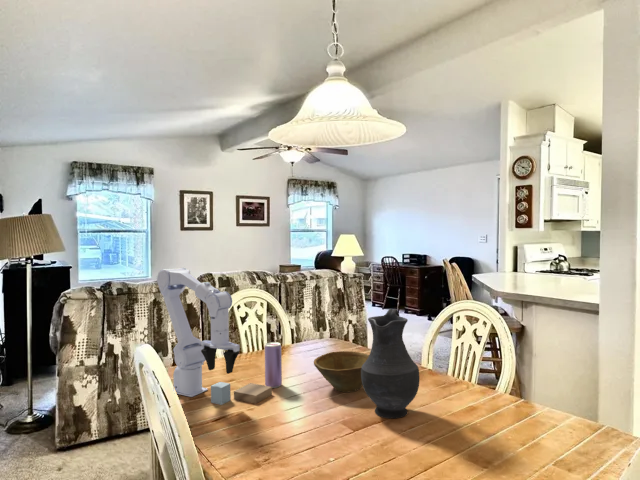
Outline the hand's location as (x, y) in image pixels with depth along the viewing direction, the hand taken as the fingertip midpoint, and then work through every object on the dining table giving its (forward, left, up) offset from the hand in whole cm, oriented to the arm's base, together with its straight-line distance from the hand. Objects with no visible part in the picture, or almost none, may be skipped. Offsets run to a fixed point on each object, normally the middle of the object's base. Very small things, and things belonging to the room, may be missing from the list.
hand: (220, 371), depth 142 cm
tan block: (+7, +8, -10) cm, 15 cm away
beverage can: (+7, +20, -10) cm, 23 cm away
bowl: (+31, +30, -10) cm, 44 cm away
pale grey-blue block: (0, 0, -10) cm, 10 cm away
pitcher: (+52, +18, -10) cm, 56 cm away
